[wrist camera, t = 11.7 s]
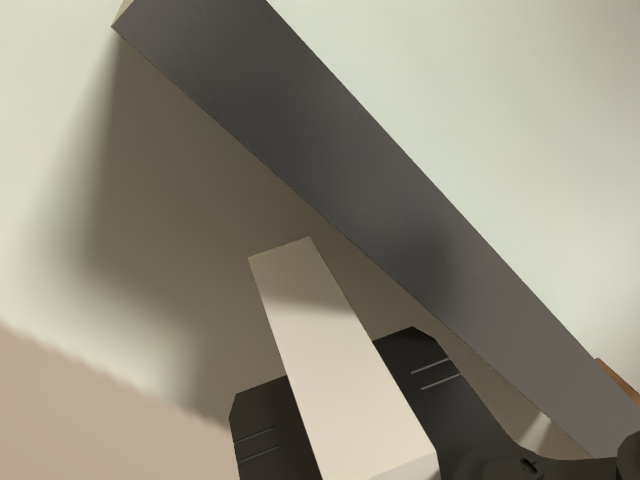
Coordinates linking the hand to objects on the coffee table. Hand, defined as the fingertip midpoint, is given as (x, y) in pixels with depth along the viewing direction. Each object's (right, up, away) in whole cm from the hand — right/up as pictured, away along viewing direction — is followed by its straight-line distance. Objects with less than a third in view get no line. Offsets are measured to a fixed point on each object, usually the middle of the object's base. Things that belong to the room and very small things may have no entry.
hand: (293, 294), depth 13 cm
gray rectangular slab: (+3, +1, +2) cm, 4 cm away
